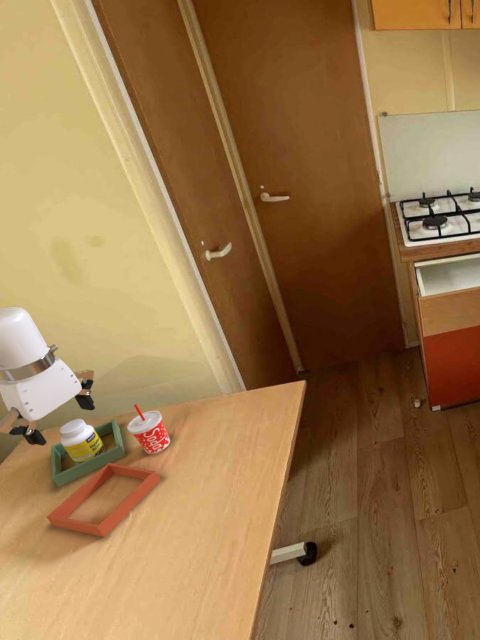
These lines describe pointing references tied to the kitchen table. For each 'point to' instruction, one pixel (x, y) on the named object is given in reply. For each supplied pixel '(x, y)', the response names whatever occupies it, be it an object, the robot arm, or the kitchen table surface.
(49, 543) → the kitchen table surface
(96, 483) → the bin
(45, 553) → the kitchen table surface
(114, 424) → the bin
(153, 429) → the beverage cup
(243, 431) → the kitchen table surface
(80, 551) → the kitchen table surface
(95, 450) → the supplement bottle
